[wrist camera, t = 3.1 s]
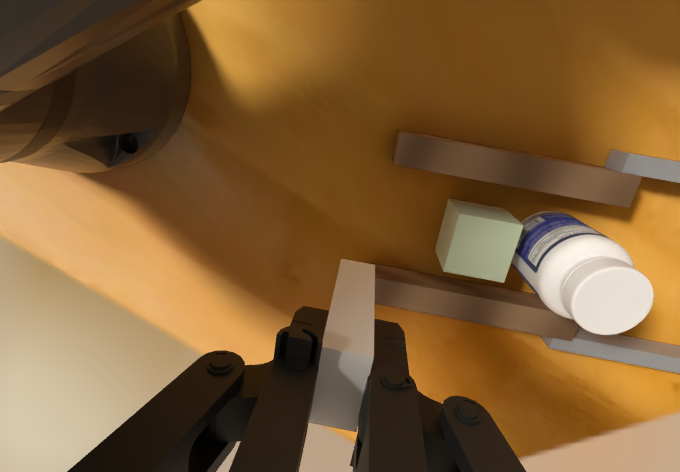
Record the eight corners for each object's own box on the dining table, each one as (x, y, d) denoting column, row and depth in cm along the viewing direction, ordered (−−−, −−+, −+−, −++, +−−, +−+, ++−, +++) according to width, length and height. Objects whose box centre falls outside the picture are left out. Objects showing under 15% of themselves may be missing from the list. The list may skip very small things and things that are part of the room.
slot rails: (365, 286, 31) (364, 301, 29) (398, 129, 27) (400, 133, 25) (556, 322, 31) (571, 341, 28) (619, 169, 27) (642, 176, 24)
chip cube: (434, 249, 30) (443, 271, 26) (448, 198, 28) (459, 213, 25) (487, 259, 30) (503, 282, 26) (503, 208, 28) (523, 225, 24)
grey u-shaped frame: (538, 333, 31) (548, 348, 29) (611, 149, 26) (629, 153, 24) (705, 364, 31) (726, 382, 29) (810, 184, 26) (844, 191, 24)
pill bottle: (585, 268, 29) (670, 337, 21) (512, 283, 30) (564, 355, 22) (578, 200, 28) (666, 244, 19) (500, 218, 28) (553, 268, 20)
